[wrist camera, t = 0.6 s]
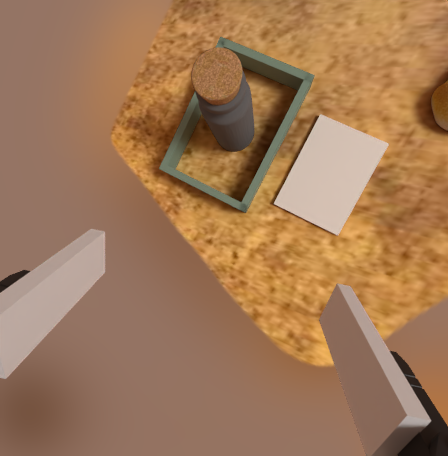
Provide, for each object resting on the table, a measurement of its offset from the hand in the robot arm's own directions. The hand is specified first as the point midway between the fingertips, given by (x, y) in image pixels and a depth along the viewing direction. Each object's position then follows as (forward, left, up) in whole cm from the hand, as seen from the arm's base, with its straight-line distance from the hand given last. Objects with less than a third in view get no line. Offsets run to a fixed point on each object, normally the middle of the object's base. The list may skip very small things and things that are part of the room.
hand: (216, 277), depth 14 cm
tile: (-14, +6, -24) cm, 28 cm away
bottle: (-14, -9, -24) cm, 29 cm away
